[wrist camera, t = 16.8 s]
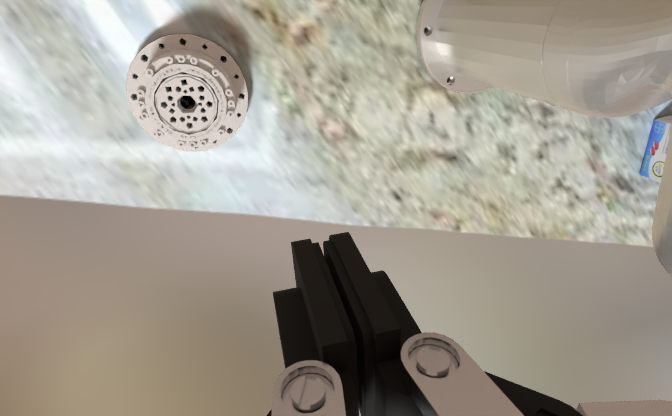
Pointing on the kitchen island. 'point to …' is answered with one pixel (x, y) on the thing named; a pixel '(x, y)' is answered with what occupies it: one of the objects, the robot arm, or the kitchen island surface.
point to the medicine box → (656, 149)
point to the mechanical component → (187, 92)
